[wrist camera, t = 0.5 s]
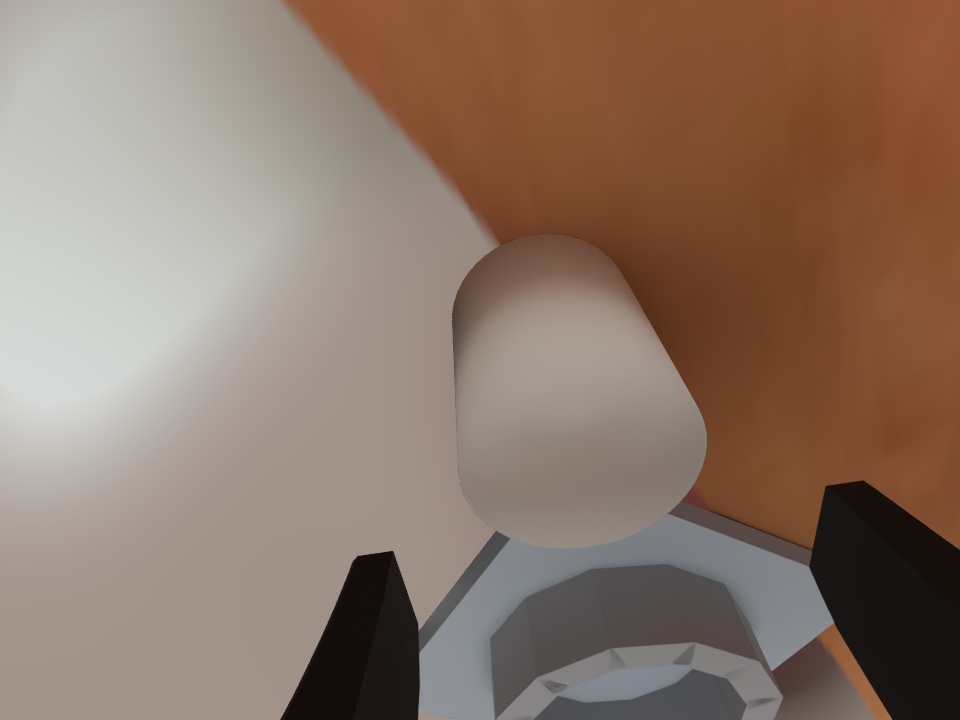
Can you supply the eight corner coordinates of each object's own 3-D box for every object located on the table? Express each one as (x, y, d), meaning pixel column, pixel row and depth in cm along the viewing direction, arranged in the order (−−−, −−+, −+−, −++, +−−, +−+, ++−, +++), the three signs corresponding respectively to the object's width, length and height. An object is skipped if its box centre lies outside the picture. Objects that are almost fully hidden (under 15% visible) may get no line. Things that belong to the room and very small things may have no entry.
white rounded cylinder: (666, 282, 17) (759, 419, 12) (568, 412, 20) (612, 572, 15) (508, 201, 16) (541, 319, 11) (422, 352, 18) (416, 507, 13)
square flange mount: (859, 569, 25) (926, 667, 21) (646, 741, 31) (671, 836, 28) (556, 452, 20) (580, 551, 17) (382, 678, 27) (374, 782, 23)
